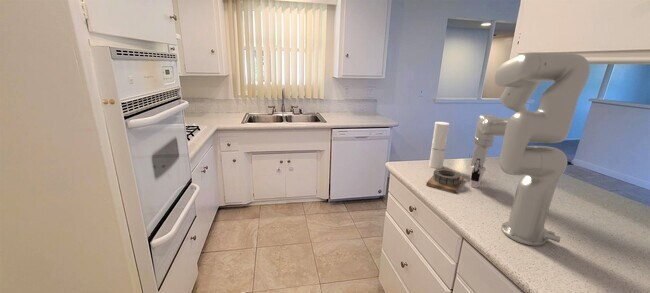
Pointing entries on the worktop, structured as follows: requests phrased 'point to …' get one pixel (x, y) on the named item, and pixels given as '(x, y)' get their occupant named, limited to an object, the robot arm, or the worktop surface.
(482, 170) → the smoothie
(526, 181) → the robot arm
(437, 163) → the cylindrical container
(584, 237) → the worktop surface
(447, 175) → the block
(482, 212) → the worktop surface
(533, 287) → the worktop surface
